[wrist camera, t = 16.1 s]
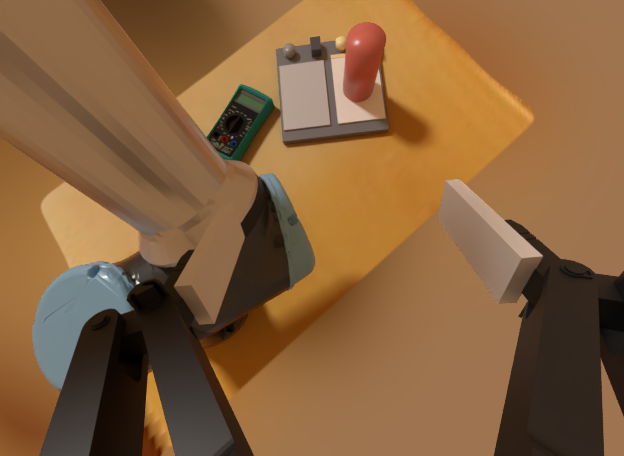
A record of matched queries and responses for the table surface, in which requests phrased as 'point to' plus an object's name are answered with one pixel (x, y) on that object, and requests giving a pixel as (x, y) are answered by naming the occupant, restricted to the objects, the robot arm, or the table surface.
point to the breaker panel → (323, 95)
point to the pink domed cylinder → (362, 60)
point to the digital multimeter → (240, 122)
